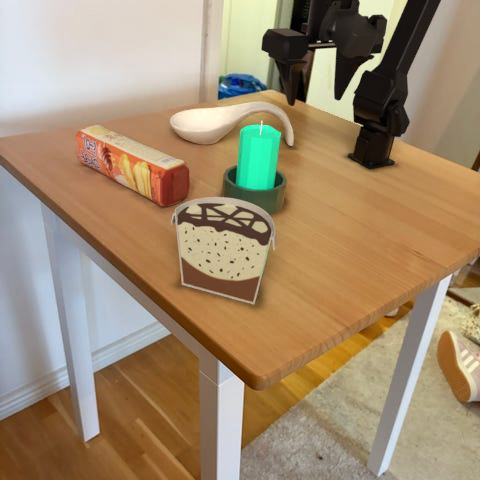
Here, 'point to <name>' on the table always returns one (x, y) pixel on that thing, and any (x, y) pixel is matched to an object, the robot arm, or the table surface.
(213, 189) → the table surface
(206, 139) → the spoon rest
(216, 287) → the food container
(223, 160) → the table surface
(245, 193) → the bowl
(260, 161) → the candle
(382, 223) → the table surface
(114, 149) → the snack package
